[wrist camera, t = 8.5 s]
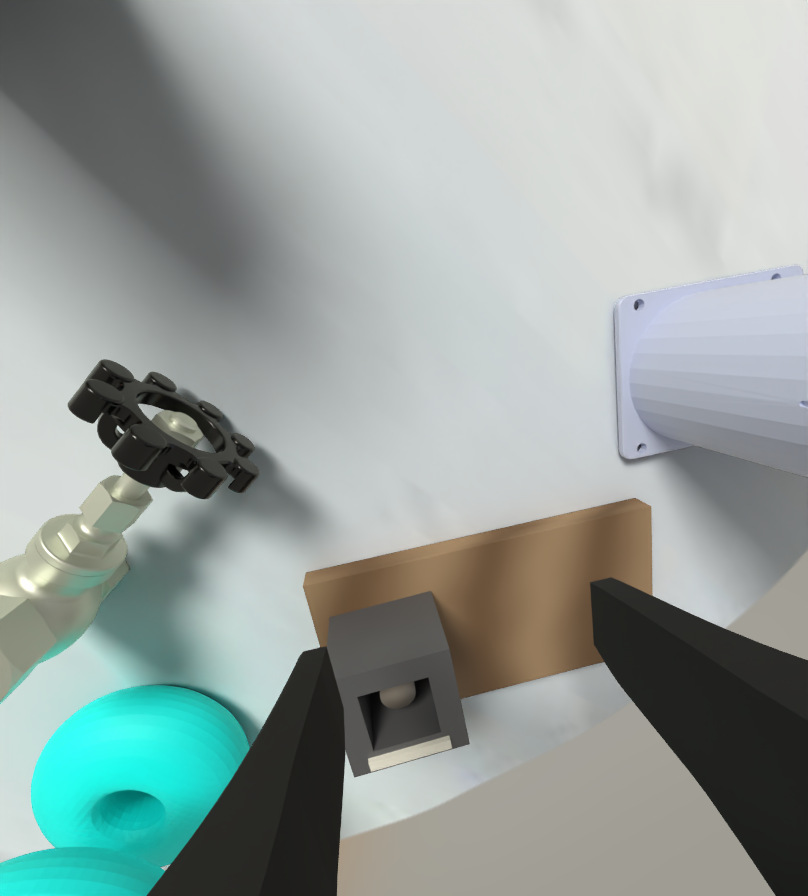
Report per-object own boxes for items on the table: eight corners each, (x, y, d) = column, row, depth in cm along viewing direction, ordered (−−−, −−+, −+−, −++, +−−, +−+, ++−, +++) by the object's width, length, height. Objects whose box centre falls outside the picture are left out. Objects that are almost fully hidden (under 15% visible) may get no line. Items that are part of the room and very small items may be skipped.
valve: (124, 629, 20) (276, 452, 19) (17, 761, 13) (236, 506, 12) (-7, 555, 18) (150, 356, 17) (-200, 666, 12) (28, 361, 11)
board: (635, 497, 22) (700, 532, 17) (638, 634, 24) (696, 692, 20) (305, 572, 20) (294, 629, 16) (343, 709, 23) (342, 788, 18)
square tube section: (430, 590, 20) (450, 652, 16) (448, 672, 21) (471, 748, 17) (329, 617, 20) (323, 687, 16) (354, 698, 21) (354, 782, 17)
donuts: (-258, 1130, 11) (-81, 911, 10) (22, 771, 21) (129, 639, 20) (76, 1179, 14) (248, 1008, 13) (190, 838, 23) (293, 724, 22)
